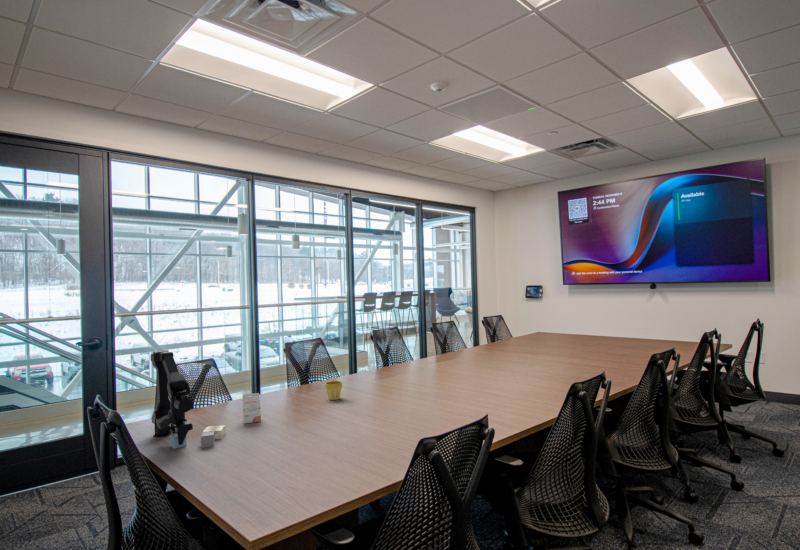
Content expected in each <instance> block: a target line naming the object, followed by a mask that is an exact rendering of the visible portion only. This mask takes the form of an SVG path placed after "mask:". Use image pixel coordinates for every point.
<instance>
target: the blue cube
mask: <svg viewBox="0 0 800 550" xmlns="http://www.w3.org/2000/svg"><path fill="white" fill-rule="evenodd" d="M169 435H170V436H169V437H170V439H169V440H170V447H171V448H173V449H174V450H175V449H179V448H184V447H186V446H187V436H186V437H185V439H184V441H183V443H182V445H179V442H178V436H177V433H175V434H172V433H170V434H169Z"/></svg>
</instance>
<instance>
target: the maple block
mask: <svg viewBox="0 0 800 550" xmlns="http://www.w3.org/2000/svg"><path fill="white" fill-rule="evenodd" d="M213 431H214V437H215V440H222V439H223V437H224V436H225V434H226V424H225V425H211V426H206V427H205V429H204V430H203V431H202V433H205V432H213Z"/></svg>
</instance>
